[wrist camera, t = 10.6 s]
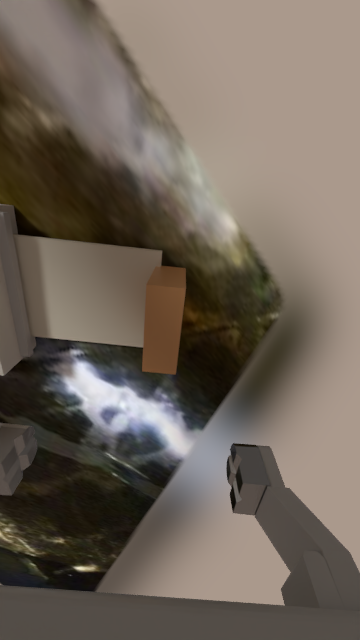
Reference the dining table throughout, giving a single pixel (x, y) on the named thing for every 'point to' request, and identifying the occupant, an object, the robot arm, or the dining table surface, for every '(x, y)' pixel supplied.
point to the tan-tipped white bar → (103, 296)
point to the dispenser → (11, 298)
